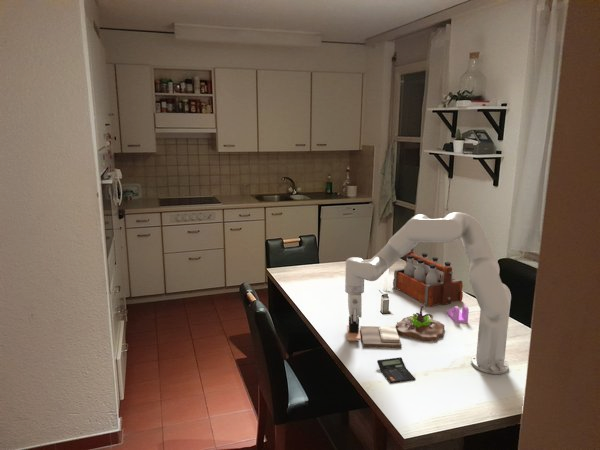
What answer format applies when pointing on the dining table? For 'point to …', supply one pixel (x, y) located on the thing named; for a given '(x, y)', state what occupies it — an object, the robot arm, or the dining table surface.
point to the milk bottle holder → (428, 281)
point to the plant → (420, 327)
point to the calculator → (395, 370)
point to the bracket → (459, 314)
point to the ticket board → (380, 337)
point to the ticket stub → (350, 334)
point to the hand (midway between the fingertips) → (353, 329)
